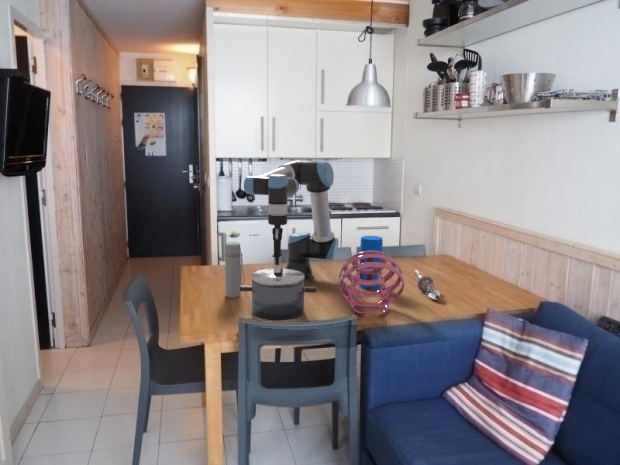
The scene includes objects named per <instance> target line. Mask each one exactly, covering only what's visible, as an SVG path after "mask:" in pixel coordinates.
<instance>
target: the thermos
mask: <svg viewBox="0 0 620 465" xmlns="http://www.w3.org/2000/svg"><path fill="white" fill-rule="evenodd" d="M383 244H384V243H383V237H382V236H378V235H363V236H361V237H360V247H359V248H360V249H359V252H363V251H370V250H373V251H380V252H383ZM364 255H365V254H364ZM366 262H381V258H364V259H360V260H359V264H361V263H366ZM372 268H373V267H369V268H365V269H372ZM380 275H381V276H382V270H381V271H380ZM359 279H361V280H375V279H377V275H376V274H363V273H361V274H360V275H359ZM358 286H359V288H361V289H364V290H370V291H371V290H372V291H373V290H377V289H379V290H380V286H379V285H374V286H363V285H358Z"/></svg>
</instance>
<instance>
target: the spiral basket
mask: <svg viewBox="0 0 620 465" xmlns="http://www.w3.org/2000/svg"><path fill="white" fill-rule="evenodd" d="M364 254H365V255H364ZM364 258H381V262H366V263H361V264H360V263H359V262H358V261H360V259H364ZM387 261H388V262H391V264H389V263H387ZM351 264H352V266H351V267H349V266H350V265H351ZM369 267H373V268H372V269H365V268H369ZM384 269H386V270H388V272H387V273H386V274H385V275H384V276H382V274H381V275H380V271H381V272H382V271H383V270H384ZM354 272H356V273H355V275H353V273H354ZM361 273H363V274H376V275H377V279H375V280H361V279H359V275H360V274H361ZM395 274H396V275H397V276H398V277H397V279H396V281H394V283H392V284H391V285H389V286H388V287H386V282H388V281H389V280H390V279H392V278H393V277H394V275H395ZM345 278H347V280H349V281H350V286H348V285H347V284H346V282H345V281H344V279H345ZM400 284H401V287H400V289H399V290H398V292H396V294H394V295H392V296H391V297H389V294H391V293H392V292H393V291H394V290H396V289H397V288H398V287H399V286H400ZM337 285H338V286H337V287H338V290H339V291H338V293H339V294H340V296H341V297H342V299H344V300H345V301H346V302H347V303H348V304H349V306H350V307H351V309H352V310H353V311H354V312H355V313H356V314H358V315H360V316H361V315H363V316H364V315H367V314H369V311H368V310H367V311H363V312H362V311H359V310H358V309H357V308H356V306H358V307H363V308H377V307H382V311H381V312H379V311H376V314H377V315H379V316H383V315H385V314H387V311H388V309H389V305H390V304H391V303H393V302H394V301H396V300H397V299H398V298H399V297H400V296H401V295H402V293H403V292H404V288H405V279H404V276H403V271H402V268H401V267H400V264H399V263H398V262H396V260H394V259H393V257H392V256H390V255H388V254H387V253H385V252H383V251H382V252H380V251H373V250H370V251H363V252H360V251H359V252H357V253H355V254H353V255H351V257H349V258H348V259H347V260H346V262H345V263H344V264H343V266H342V267H341V269H340V272H339V274H338V284H337ZM359 285H363V286H374V285H379V286H380V288H379V290H377V291H360V290H357V289H356V286H359ZM342 288H343V290H345V292H347V293H348V296H347V295H346V294H345V293H344V292H343V291H342ZM355 297H361V298H376V297H377V298H378V297H381V298H382V300H380V301H375V302H363V301H359V300H356V299H355Z"/></svg>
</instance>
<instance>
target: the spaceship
mask: <svg viewBox="0 0 620 465" xmlns="http://www.w3.org/2000/svg"><path fill="white" fill-rule="evenodd" d="M413 274H414V276H415V277H416V278H418V281H417V287H418V289H419V291H421V292H425V293H424V294H425V295H426V296H427V297H429V298H431V299H433V300H435V301H439V299H440V298H441V293H440V290H438V289H437V288H436V287H435V283H434V280H433V278H431V276H427V275H424V274H423V275H421V272H420V271H419V269H414V270H413ZM434 289H435V290H434Z"/></svg>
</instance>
